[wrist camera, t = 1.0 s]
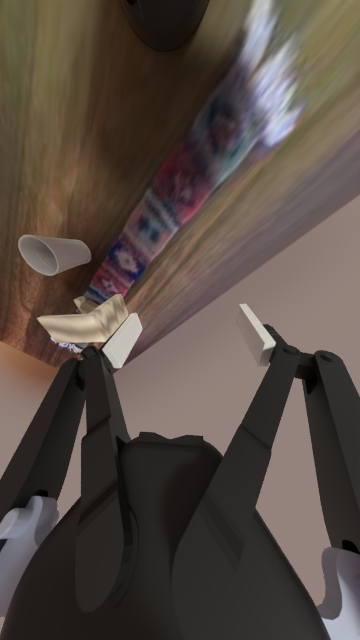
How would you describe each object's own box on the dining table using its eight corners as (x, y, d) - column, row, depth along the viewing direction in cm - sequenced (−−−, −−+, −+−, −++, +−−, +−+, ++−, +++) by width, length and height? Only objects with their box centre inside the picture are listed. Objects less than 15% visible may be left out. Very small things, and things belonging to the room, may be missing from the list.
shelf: (79, 296, 46) (36, 318, 33) (121, 293, 44) (92, 315, 31) (90, 316, 50) (56, 342, 38) (128, 315, 48) (106, 341, 36)
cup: (92, 271, 40) (59, 281, 30) (66, 258, 39) (22, 264, 29) (95, 245, 36) (57, 248, 26) (66, 229, 35) (14, 226, 25)
